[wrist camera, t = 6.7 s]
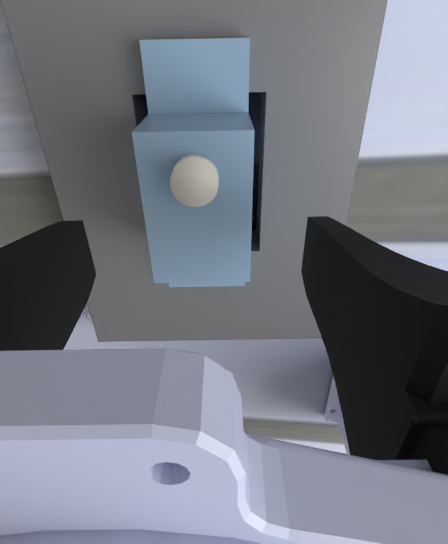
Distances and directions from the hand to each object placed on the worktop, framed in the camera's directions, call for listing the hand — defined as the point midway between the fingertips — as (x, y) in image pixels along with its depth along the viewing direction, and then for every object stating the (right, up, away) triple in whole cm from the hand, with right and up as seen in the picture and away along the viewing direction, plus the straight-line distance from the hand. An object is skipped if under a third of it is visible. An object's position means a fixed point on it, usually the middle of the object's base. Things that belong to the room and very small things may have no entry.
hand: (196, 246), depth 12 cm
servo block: (0, +5, +7) cm, 9 cm away
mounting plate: (0, +5, +7) cm, 9 cm away
